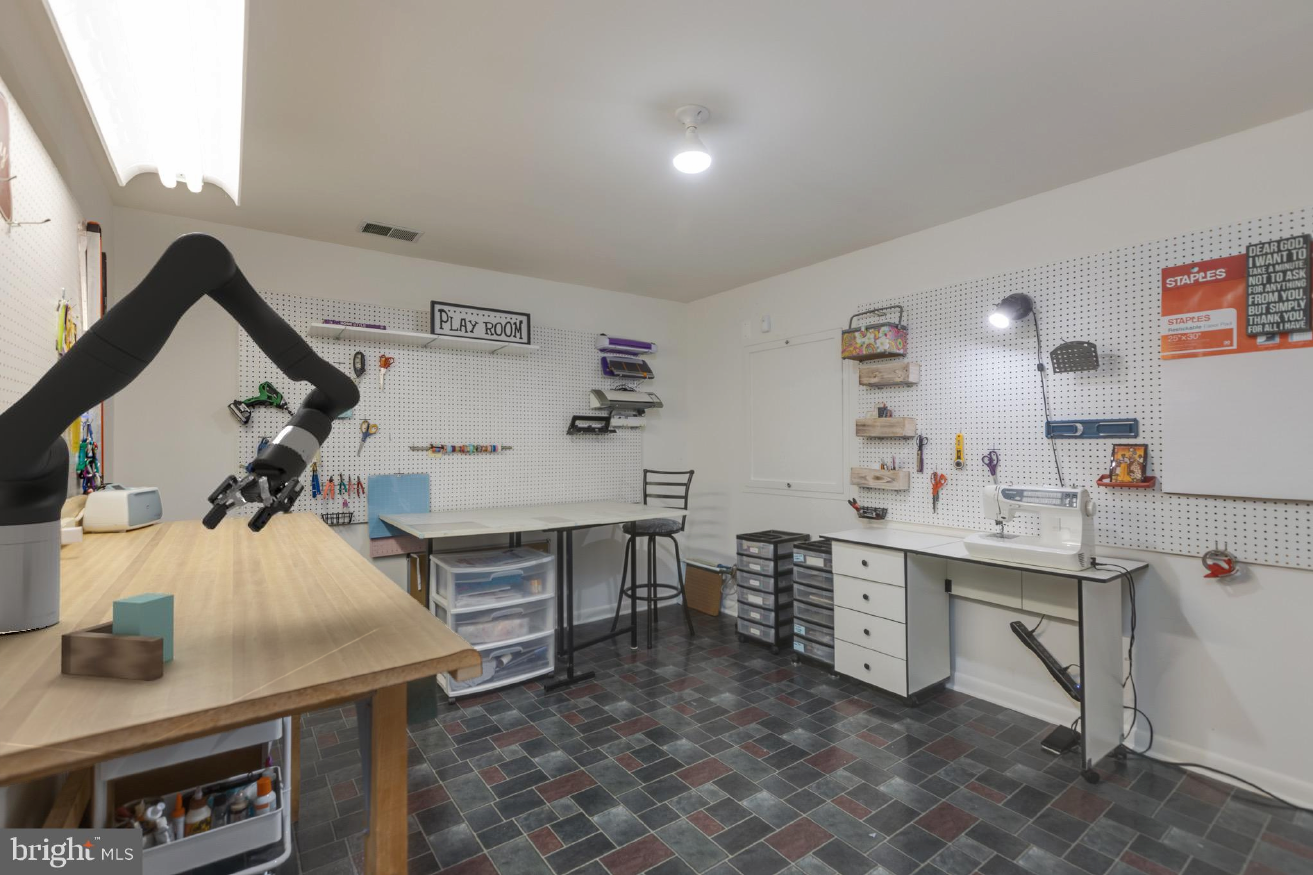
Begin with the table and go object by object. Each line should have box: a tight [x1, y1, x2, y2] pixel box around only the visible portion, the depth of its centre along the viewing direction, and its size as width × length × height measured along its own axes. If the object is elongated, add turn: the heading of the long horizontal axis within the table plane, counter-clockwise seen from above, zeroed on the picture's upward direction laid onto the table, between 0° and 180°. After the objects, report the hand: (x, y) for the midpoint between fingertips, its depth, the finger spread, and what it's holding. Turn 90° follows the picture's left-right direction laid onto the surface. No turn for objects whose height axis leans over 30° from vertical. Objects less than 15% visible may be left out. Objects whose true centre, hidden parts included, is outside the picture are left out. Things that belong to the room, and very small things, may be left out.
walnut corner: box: [60, 620, 164, 681], centre depth 81 cm, size 14×10×5 cm
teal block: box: [112, 592, 175, 663], centre depth 81 cm, size 4×4×9 cm
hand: (229, 527), depth 96 cm, fingers open, 8 cm apart
